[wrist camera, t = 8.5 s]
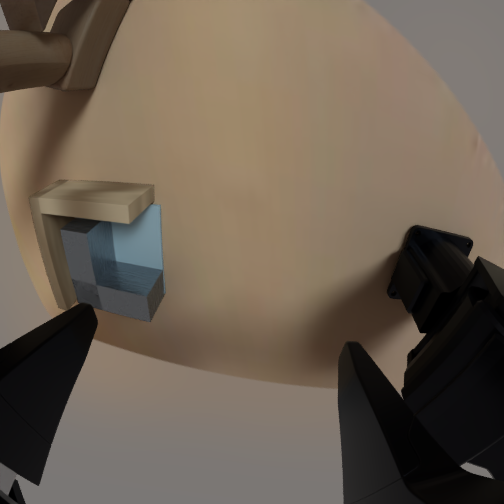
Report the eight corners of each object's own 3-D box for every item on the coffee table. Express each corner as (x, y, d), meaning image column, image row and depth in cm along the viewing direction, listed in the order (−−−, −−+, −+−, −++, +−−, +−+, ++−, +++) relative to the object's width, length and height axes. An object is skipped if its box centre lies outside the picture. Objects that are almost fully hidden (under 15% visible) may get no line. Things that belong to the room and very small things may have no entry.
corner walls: (153, 184, 19) (127, 205, 16) (161, 301, 24) (145, 332, 21) (59, 179, 19) (28, 197, 16) (79, 282, 25) (58, 307, 21)
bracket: (97, 279, 24) (78, 303, 21) (85, 210, 20) (60, 229, 17) (164, 294, 24) (150, 322, 21) (160, 219, 20) (141, 242, 17)
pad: (160, 205, 20) (159, 206, 20) (165, 292, 24) (164, 293, 24) (75, 197, 20) (74, 198, 20) (90, 276, 24) (89, 278, 24)
